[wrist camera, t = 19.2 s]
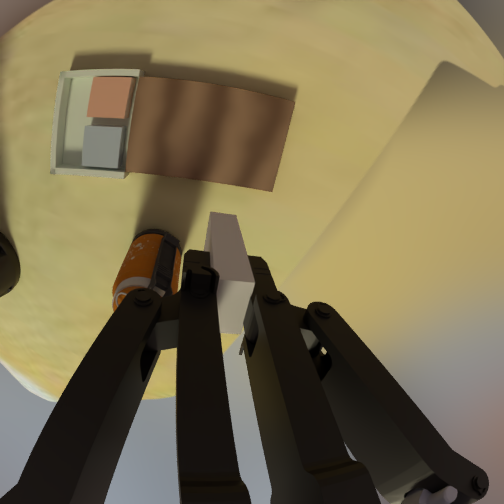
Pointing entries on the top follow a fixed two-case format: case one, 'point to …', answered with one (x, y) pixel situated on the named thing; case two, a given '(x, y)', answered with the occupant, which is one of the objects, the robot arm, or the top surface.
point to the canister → (149, 265)
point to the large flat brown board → (207, 132)
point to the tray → (83, 122)
